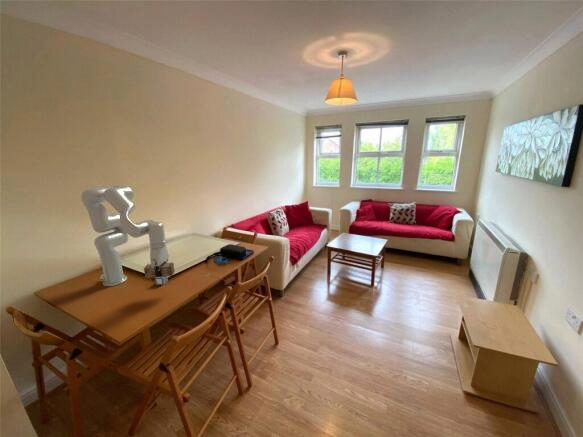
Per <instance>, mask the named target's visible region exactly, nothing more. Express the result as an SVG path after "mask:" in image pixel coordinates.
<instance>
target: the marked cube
mask: <svg viewBox="0 0 583 437" xmlns="http://www.w3.org/2000/svg"><path fill="white" fill-rule="evenodd" d="M154 282H155V285H156V286H165V285H166V284H167V283H168V282H169V276H166V277H155V278H154Z"/></svg>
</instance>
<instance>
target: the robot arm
mask: <svg viewBox="0 0 583 437" xmlns="http://www.w3.org/2000/svg"><path fill="white" fill-rule="evenodd" d="M134 196H135V194H134V191H133V190H132V188H130V187H129V186H127V185H107V186H101V187H100V186H97V187H91V188H88V189H85V190H83V192H82V193H81V195H80V199H81V202H82V204H83V205H84V207H85V209H86V210H87V212H88V217H89V220H90V222H91V225H92V228H93V230H94V231H95V233H99V234H100V233H101V235H99V236H97V237H96V238H95V239H94V243H93V244H94V246H95V248H96V250H97V252H98V255H99V259H100V260H99V261H100V263H101V267H102V272H103V274H101V275H100V277H99V280H103V282H102V286H104V287H114V286H118V285H121V284H122V283H124V282H126V281H127V280H128V276H127V275H125V274H124V272H123V266H122V265H123V264H122V262H121V257H120V253H119V252H118V251H117V250H115V248H116V247H120V246H122V245H124V244H126V243H128V241H129V236H130V237H132V238H134V239H135V238H136V239H138V238H140V237H144V236H145V235H148V238H149V245H150V249H149V250H150V251H149V260H150V264H151V265H152V267H151V268H152V269H153V270H154V271H155V274H156V277H161V276H162V273H161V270H160V266H161V264H163V263H169V261H168V260H169V256H170V255H169V252H168V249H167V242H166V236H165V235H166V234H165V227H164V224H163V222H161V221H155V220H152V219H146V220H143V221H139V222H136V223H133V222H132V221H131V219H130V218H129V215H131V214H132V213H133V212H134V211H135V209H136V205H135V204H134V203H133V202H132V201H131V200H132V199H133V198H134ZM104 202H107V203H109V205H110V206H112V207H113V209H114V210H115V211H116V212H117V213H110V214H108V211H107V207H105V205H103V204H102V203H104ZM109 231H111V232H109ZM106 232H107V233H106ZM102 233H104V234H102ZM156 264H158V265H156ZM157 266H158V268H157Z"/></svg>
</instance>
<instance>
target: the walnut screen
mask: <svg viewBox="0 0 583 437" xmlns="http://www.w3.org/2000/svg"><path fill="white" fill-rule="evenodd" d="M156 265H158V264H156ZM151 267H152V265H151V263H149V264H148V263H147V264H146V265H145V267H144V268H143V271H144V277H145V279H155V277H156V274H155V271H154V270H153V269H152V268H151ZM157 268H158V266H157ZM160 270H161V273H162V276H161V277H166V276H167V277H173V275H174V274H175V272H176V271H175V265H174V262H168V263H163V264H161V266H160Z"/></svg>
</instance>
